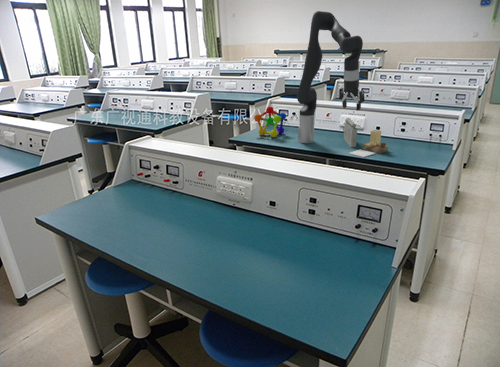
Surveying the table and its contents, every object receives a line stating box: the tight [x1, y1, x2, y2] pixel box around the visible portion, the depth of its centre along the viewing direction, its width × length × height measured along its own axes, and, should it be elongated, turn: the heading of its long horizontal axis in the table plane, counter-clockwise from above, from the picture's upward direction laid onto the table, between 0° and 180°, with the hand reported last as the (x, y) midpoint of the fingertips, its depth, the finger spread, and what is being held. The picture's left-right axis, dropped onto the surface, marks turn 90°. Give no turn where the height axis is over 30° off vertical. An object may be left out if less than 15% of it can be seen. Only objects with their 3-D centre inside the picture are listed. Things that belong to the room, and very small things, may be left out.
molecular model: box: [253, 105, 287, 138], centre depth 246 cm, size 21×15×20 cm
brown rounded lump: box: [362, 141, 389, 155], centre depth 205 cm, size 12×7×5 cm, turn 35°
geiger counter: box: [342, 117, 358, 148], centre depth 222 cm, size 14×6×25 cm
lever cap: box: [369, 129, 382, 146], centre depth 204 cm, size 4×4×8 cm
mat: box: [348, 148, 376, 159], centre depth 200 cm, size 10×10×1 cm
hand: (351, 108), depth 191 cm, fingers open, 8 cm apart
